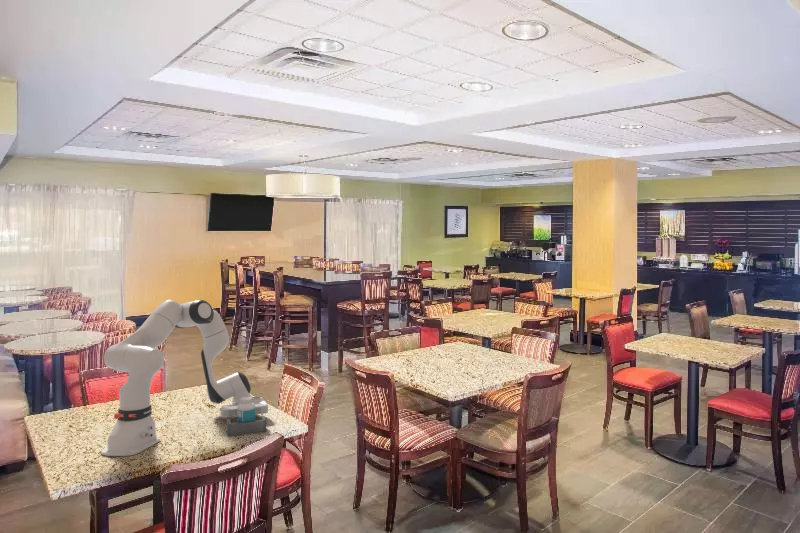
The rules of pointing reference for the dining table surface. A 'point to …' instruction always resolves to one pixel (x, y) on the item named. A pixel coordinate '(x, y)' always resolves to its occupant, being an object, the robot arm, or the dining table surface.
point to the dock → (246, 427)
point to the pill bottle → (246, 410)
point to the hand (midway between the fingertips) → (245, 414)
